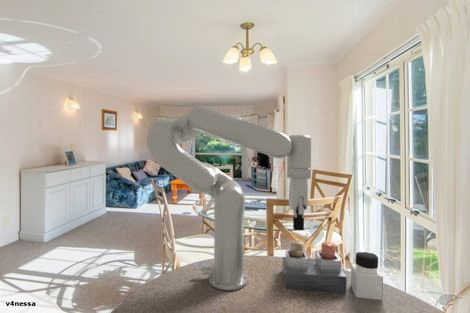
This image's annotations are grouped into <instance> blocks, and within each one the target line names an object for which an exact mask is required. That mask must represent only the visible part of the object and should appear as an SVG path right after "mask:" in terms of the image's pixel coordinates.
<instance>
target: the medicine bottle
mask: <svg viewBox="0 0 470 313" xmlns="http://www.w3.org/2000/svg"><path fill="white" fill-rule="evenodd" d="M350 267H351V268H350V287H351V289H352V291H353V293H354V296H355V297H356V298H358V299H359V298H360V299H365V300H374V301H383V295H384V294H383V287H384V276H383V275H382V273H381V272H380V270H379V257H378V256H377V254H375V253H373V252H370V251H368V250H367V251H365V250H362V251H360V250H359V251H357V252H356V253H355V263H351V265H350Z"/></svg>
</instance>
